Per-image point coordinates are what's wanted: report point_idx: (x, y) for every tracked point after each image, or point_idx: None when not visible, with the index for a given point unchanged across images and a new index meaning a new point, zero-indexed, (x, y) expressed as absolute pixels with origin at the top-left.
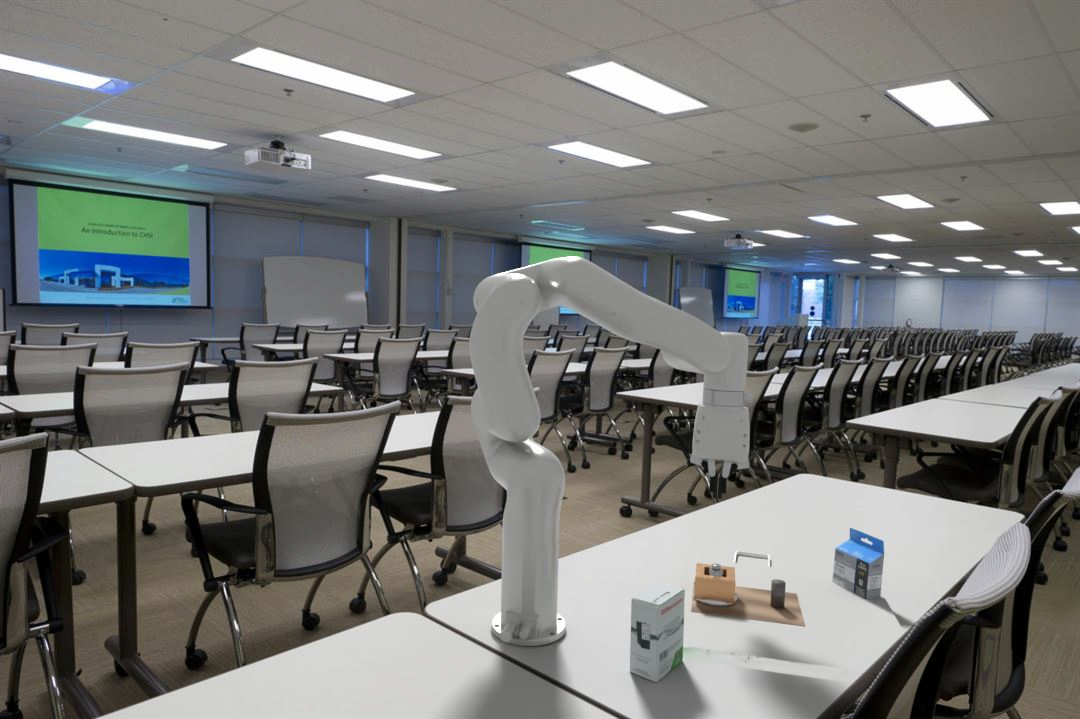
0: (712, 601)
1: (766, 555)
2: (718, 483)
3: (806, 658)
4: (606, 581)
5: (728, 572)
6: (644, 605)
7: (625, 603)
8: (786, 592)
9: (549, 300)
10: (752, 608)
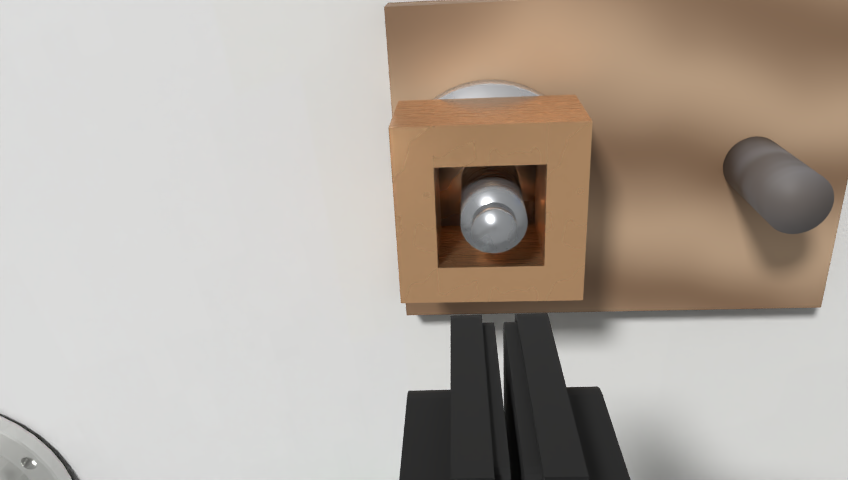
0: None
1: None
2: (514, 450)
3: (765, 431)
4: (6, 59)
5: (555, 203)
6: None
7: (160, 245)
8: None
9: None
10: (640, 221)
